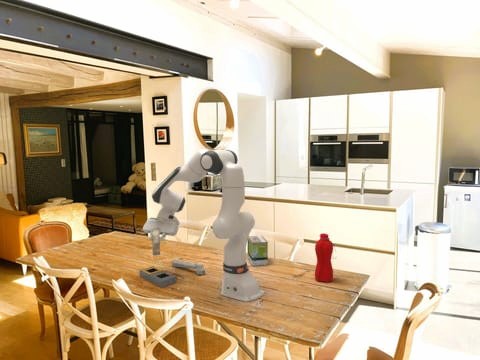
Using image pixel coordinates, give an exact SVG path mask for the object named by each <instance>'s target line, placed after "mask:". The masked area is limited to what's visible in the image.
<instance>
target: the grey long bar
mask: <svg viewBox="0 0 480 360" xmlns="http://www.w3.org/2000/svg"><path fill="white" fill-rule="evenodd" d="M171 265H172V267H175V268H183V269H194V271H195V274H196V275H197V276H199V275H201V276H202V275H205V274H206V267H205V266H204V264H203V263H202V262H199V263H196V262H191V261H184V260H180V259H174V260H172V263H171Z"/></svg>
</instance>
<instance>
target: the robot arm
mask: <svg viewBox="0 0 480 360" xmlns="http://www.w3.org/2000/svg"><path fill="white" fill-rule="evenodd" d="M238 161H239V160H238V155H237V154H236V152H234V151H233V150H231V149H230V150H229V149H213V150H208V149H206V148H200V149H198V150H197V151H196V152H195V153H194V154H193V155H192V157H191V158H190V159H189V161H187V163H186V164H185V165H182V166H177V167H176V168H175V169H174V170H172V172H171V173H170V174H168V175H167V177H165V178H164V179H163V181H161V183H159V185H157V186H156V187H155V188H154V190H153V191H152V193H151V197H152V201H153V202H154V203H156V204H158V205H161V208H160V210H159V211H158V213H157V216H156V217H150V218H148V219H147V220H146V222H144V225H143V227H142V231H143V232H144V233H145V234H149V241H151V242H152V229H154V228H158V229H159V233H160V237H159V239H158V241H160V243H161V242H163V240H164V239H165V238H166V236H170V237H171V236H172V237H175V236H176V235H177V234H178V231H179V225H180V221H179V219H178V217H176V216H175V213H176V214H177V213H179V212H182V211H183V209H184V207H185V204H186V197H185V196H184V195H182V194H180V193H178V192H176V191H174V190H172V189H170V187H171V186H172V185H173V184H174V183H176V182H186V183H198V182H200V181H202V180H203V179H204V177H205V176H206V175H207V174H208V173H211V174H213V175H215V176H217V175H219V176H220V177H221V182H222V183H221V185H222V186H221V188H222V189H221V190H222V191H221V192H222V193H221V195H222V196H221V206H220V210H219V213H218V214H217V216H216V219H214V221H213V223H212V225H211V229H212V233H213V234H214V236H215V238H216V239H219V240H227V239H228V240H227V241H226V243H225V245H224V246H223V263H222V268H223V269H222V270H223V275H222V284H221V291H220V295H221V296H224V297H226V298H229V299H230V298H231V299H234V300H237V301H240V302H245V303H247V302H252V301H255V300H257V299H259V298H261V297H263V296H264V295H265V291H264V290H263V289H261V288H260V284H259V281H258V280H257V278H256V277H255V276H254V275H253V274H252V273H251V271H250V265H248V263H247V255H246V254H247V245H248V237H249V236H250V233H251V232H252V230H253V229H254V227H255V226H256V225H255V223H256V222H255V218H254V216H253V215H254V214H252V213H251V212H248V211H240V210H241V208H242V206H243V205H244V204H245V202H246V200H245V199H246V198H245V197H246V195H245V194H246V191H245V190H246V189H245V188H246V187H245V186H246V185H245V174H244V170H243V168H242V166H241V165H239V164H238Z"/></svg>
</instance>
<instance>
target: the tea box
mask: <svg viewBox="0 0 480 360" xmlns="http://www.w3.org/2000/svg"><path fill="white" fill-rule="evenodd" d="M268 245H269V242H268V240H267V239H266V238H265V237H264V236H263V235H249V237H248V240H247V260H248V261H249V262H250V264H251V266H252V267H257V266H258V267H259V266H260V267H261V266H268V264H269V263H268V262H269V261H268V260H269V258H268V255H269V254H268V253H269V252H268V251H269V249H268V247H269V246H268Z"/></svg>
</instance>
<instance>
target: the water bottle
mask: <svg viewBox="0 0 480 360" xmlns="http://www.w3.org/2000/svg"><path fill="white" fill-rule="evenodd" d="M318 236H319V239H318V240H317V241H316V243H315V245H314V251H315V256H316V265H315V270H314V279H315V281H318V282H323V283H330V282H332V281H333V278H334V269H333V265H332V257H333V253H334V251H335V252H337V251H336V249H335V250H334V248H336V247H335V245H334V243H333V242H332V240H330V238H329V234H328V233H325V232H324V233H320V234H319V235H318ZM334 259H335V260H336V259H337V257H335V258H334Z"/></svg>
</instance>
